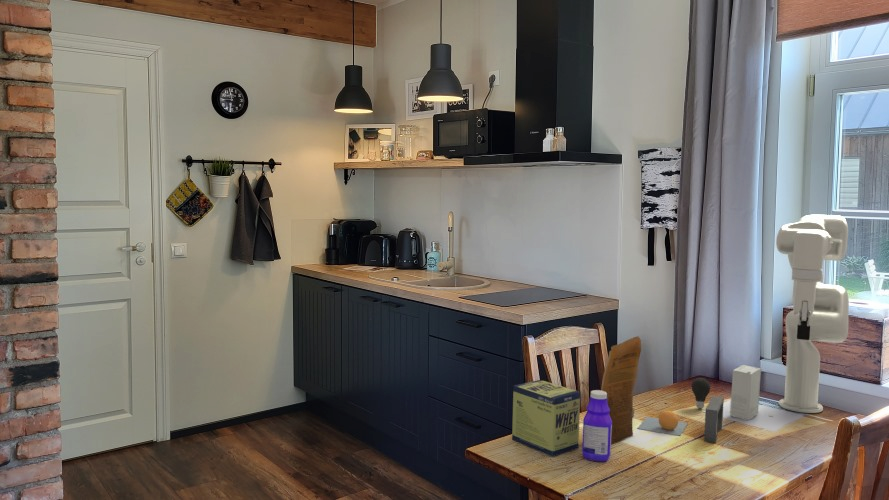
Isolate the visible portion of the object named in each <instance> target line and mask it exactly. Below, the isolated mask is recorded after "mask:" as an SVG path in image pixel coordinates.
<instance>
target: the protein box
mask: <svg viewBox="0 0 889 500" xmlns="http://www.w3.org/2000/svg"><path fill="white" fill-rule="evenodd" d="M512 389H513V390H512V391H513V393H512V396H513V397H512V425H511V426H512V433H511V440H512V441H514V442H517V443H518V444H520V445H521V444H522V445H523V446H526V447H528V448H530V449H533V450H535V451H538V452H540V453H542V454H545V455H548V456H550V457H556V456H558V455H561V454H565V453H567V452H570V451H574V450H576V449H577V450H578V449H579V443H580V442H579V440H580V439H579V437H580V410H581V391H578V390H576V389H572V388H568V387H565V386H562V385H558V384H554V383H552V382H549V381H546V380H543V379H537V380H533V381H530V382H524V383H519V384H515V385H513V388H512Z"/></svg>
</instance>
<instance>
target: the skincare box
mask: <svg viewBox="0 0 889 500" xmlns="http://www.w3.org/2000/svg"><path fill="white" fill-rule="evenodd" d="M761 372H762V369H761V368H759V367H756V366H750V365H745V364H742V365H740V366H739V367H737V368H734V369H732V381H731V394H730V411H729V412H730V413H729V415H730V417H732V418H733V417H734V418H738V419H741V420H745V421H749V420H751V419H753V418H754V417H755V416H757V415H758V414H759V404H760V392H761V391H760V388H761V376H762V375H761V374H762V373H761Z"/></svg>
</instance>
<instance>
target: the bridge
mask: <svg viewBox="0 0 889 500" xmlns="http://www.w3.org/2000/svg"><path fill="white" fill-rule="evenodd" d="M724 399H725V398H724V396H718V395H712V396H711V398H710V400H709V402H708V404H707V406H706V407H705V410H704V411H705V412H704V414H705V415H704V438H703V442H704V443H710V444H717V442H718V438H717V437H718V430H719V431H722V430H723V422H724V421H723V420H724V402H725V401H724Z"/></svg>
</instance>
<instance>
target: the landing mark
mask: <svg viewBox="0 0 889 500" xmlns="http://www.w3.org/2000/svg"><path fill="white" fill-rule="evenodd" d="M658 419H659V417H651V416H646V417H644V419H643V420H642V421H641V423H640V424H639V426H638V427H637V428H636V429H637V430H641V431H649V432H654V433H659V434H667V435H673V436H678V437H681V436H682V434H683V433H684V431H685V429H686V427H687V426H688V422H682V421H678V425H677V427H676V428H674V429H672V430H666V429H664V428H662V427H661V426H660V424H659V421H658Z"/></svg>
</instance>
